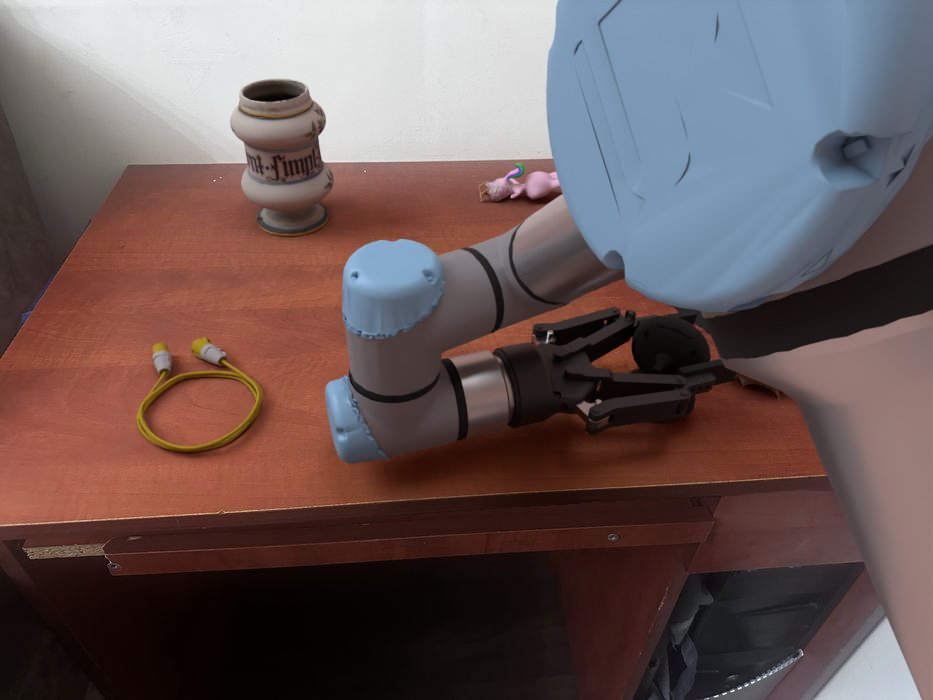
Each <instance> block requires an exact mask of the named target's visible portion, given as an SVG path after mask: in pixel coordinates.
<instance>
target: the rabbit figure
mask: <svg viewBox="0 0 933 700" xmlns="http://www.w3.org/2000/svg"><path fill="white" fill-rule="evenodd" d="M513 166H514V167H516V168H515V169H513V170H510V171H509V172H508V173H507V175H505V176H504V177H500V178H496V179H495V180H494V181H491V182H490V181H486V180H485V181H484V182H482V183H480V182H479V181H478V182H477V183H478V191H479V199H480V202H483V196H484V195H485V194H486V193H487V195H488V196H489V199H490V200H491V201H493V202H499V201H502V200H503V199H505V198H507V197H508V196H510V199H511V200H513V199H515V198H517V197H518V196H520V195H521V194H522V192H524V193H525V196H527V197H528V198H530V200H537V199H540V198H542V197H543V198H544V197H547V196H548V194H549V193H550V192H551V191H553V190H556V189H559V188H561V187H560V184H559V181H558V177H557V173H556V171H552V172H550V173H547V172H545V171H534V172H531V173H529V174H528V175H527V176H526V178H525V181H524V183H520V182H519V181H517V180H516V179H518V178H520V177H522V176H523V175H524V174H525V170H526V168H525V165H524V164H523V163H522V162H516V163H514V164H513ZM484 186H485V187H486V189H485V190H484V191H482V187H484Z"/></svg>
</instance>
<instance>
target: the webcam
mask: <svg viewBox="0 0 933 700" xmlns="http://www.w3.org/2000/svg"><path fill="white" fill-rule="evenodd" d="M630 349H631V354H632V358H633V361H634V362H635V363H634V364H635V365H636V366H637V367H638V368H636V369H633V370H632V371H630V372H629V373H637V374H662V375H677V372H678V369H679V368H681V367H685V366H690V365H695V364H699V363H704V362H708V361H711V359H712V356H711V347H710V344H709V342H708V339H707V338H706V336H705V335H704V334H703V333H702V331H701V330H700V329H698V327H696V326H695V324H694V325H692V324H691V323H689V322H688V321H685V320H682V319H680V318H677V317H674V316H663V315H659V316H656V317H653V318H651V319H648V320H646V321H645V322H644V323H643V324H641V325H640V326H639V327H638V328H637V329H636V331H635V333H634V336H633V337H632V338H631V347H630ZM669 390H670V389H669ZM696 400H697V397H696V395H693V396H691V397H690V400H689V403H688V406H687V409H686V412H685V415H684V416H683V417H681V418H674V419H667V420H660V421H659V422H675V421H678V420H682V419H684V418H685V417H687V416H689V415H690V413H691V412H692V411H693V409H694V408H695V405H696V402H697V401H696Z"/></svg>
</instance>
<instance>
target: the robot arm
mask: <svg viewBox="0 0 933 700" xmlns="http://www.w3.org/2000/svg"><path fill="white" fill-rule="evenodd" d="M554 27H555V28H554V35H553V39H552V43H551V46H550V48H549V50H548V55H547V64H546V84H545V85H546V87H545V88H546V89H545V108H546V123H547V131H548V139H549V146H550V151H551V157H552V160H553V166H554V170H555V172H556V173H557V177H558V181H559V184H560V187H559V188H560V190H561V193H562V194H560V195H558V196H557V197H556V198H554V199H552V200H551V201H550V202H548V203H547V204H545V205H544V206H543V207H541V208H540V209H538V210H536V211H535V212H534V213H532V214H531V215H530V216H528V217H526V219H524V220H523V221H521V222H520V223H519V224H517V225H515V226H514V227H513V228H511V229H509V230H508V231H506V232H504V233H502V234H500V235H498V236H495V237H492V238H490V239H487V240H483V241H482V242H481V241H480V242H478V243H476V244H472V245H470V246H466V247H462V248H458V249H455V250H452V251H449V252H445V253H442V254H439V255H437V253H436V252H435V251H434V250H433V249H432V248H430V247H428V246H427V245H425V244H424V243H421V242H418V241H415V240H412V239H407V238H399V239H397V240H395V241H390V240H387V239H379V240H375V241H372V242H370V243H367V244H365V245H363V246H361V247H359V248H358V249H357V250H355V251H354V252H353V253H352V254H350V256H349V258H348V259H347V261H346V263H345V265H344V267H343V271H342V306H341V311H342V321H343V324H344V331H345V337H346V347H347V354H348V363H349V369H348V374H347V375H343V376H342V377H340V378H336V379H333V380H331V381H329V382H328V383H327V384H326V386H325V389H324V399H325V400H324V401H325V407H326V414H327V419H328V423H329V429H330V433H331V438H332V441H333V446H334V447H335V448H334V449H335V452H336V454H337V456H338V458H339V459H340V460H341V461H342V462H344V463H346V464H350V465H351V464H353V465H355V464H360V463H361V464H362V463H366V462H374V461H380V460H385V461H386V460H391V459H393V458H394V457H397V456H401V455H402V456H403V455H406V454H410V453H415V452H418V451H422V450H427V449H432V448H436V447H440V446H443V445H444V446H445V445H448V444H452V443H456V442H461V441H463V440H464V441H465V440H470V439H474V438H478V437H483V436H487V435H492V434H495V433H501V432H503V431H505V430H506V428H507V427H509V428H510V429H518V428H523V427H527V426H532V425H537V424H541V423H544V422H545V421H547V420H549V419H550V418H551V417H553V416H555V415H557V414H565V415H566V414H567V415H577V416H578V417H579V418H580V419H581V420H582V421H583V422H584V423H585V428H584V430H585V432H586V434H588V435H589V436H596V435H598V434H600V433H603V432H604V431H607V430H609V429H611V428H617V427H623V426H631V425H638V424H646V423H652V422H661V421H660V420H667V419H674V418H681V417H683V416H684V415H685V412H686V409H687V406H688V403H689V400H690V397H691V396H693V395H695V396H696V395H701V394H705V393H709V392H711V391H712V390H713V388H714V386H719V385H724V384H728V383H732V382H735V380H736V378H737V372H738V373H740V374H742V375H745V376H747V377H750V378H752V379H754V380H757V381H759V382H762V383H764V384H766V385H769V386H771V387H774V388H776V389H778V390H780V391H779V392H782V393H783V394H784V395H785V396H787V397H788V398H790V399H791V400H792V401H794V402H795V403H796V406H797V409H798V411H799V413H800V416H801V418H802V420H803V423H804V425H805V428H806V430H807V432H808V435H809V437H810V439H811V441H812V444H813V446H814V449H815V451H816V454H817V455H818V458H819V460H820V463H821V465H822V467H823V471H824V473H825V475H826V477H827V479H828V481H829V484H830V486H831V489H832V492H833V493H834V496H835V499H836V500H837V502H838V506H839V507H840V510H841V513H842V515H843V518H844V519H845V522H846V524H847V527H848V529H849V531H850V534H851V535H852V539H853V541H854V543H855V546H856V548H857V550H858V552H859V555H860V557H861V560H862V562H863V564H864V567H865V569H866V571H867V573H868V574H867V575H868V576H869V578H870V581H871V583H872V585H873V588H874V590H875V592H876V595H877V598H878V600H879V602H880V605H881V607H882V609H883V611H884V614H885V617H886V619H887V621H888V624H889V626H890V628H891V631H892V633H893V635H894V637H895V640H896V642H897V645H898V647H899V649H900V653H901V654H902V657H903V659H904V661H905V663H906V666H907V669H908V670H909V671H908V672H909V673H910V676H911V678H912V680H913V683H914V685H915V687H916V690H917V692H918V694H919V697H920V699H921V700H933V0H557V2H556V7H555V26H554ZM623 279H625V283H626V285H627V286H628V287H629V288H631V289H633V290H634V291H636V292H638V293H639V294H641V295H642V296H643V297H645V298H647V299H649V300H652V301H654V302H658V303H661V304H664V305H667V306H671V307H673V306H675V307H679V308H686V309H693V310H689V311H684V312H680V311H679V312H675V313H669V314H664V315H662V316H674V317H677V318H680V319H682V320H685V321H688V322H689V323H691V324H692V325H694V326H695V324H696V323H695V320H696V317H697V313H696V312H695V311H694V310H698V311H701V313H702V316H703V318H704V320H705V323H706V325H707V327H708V330H709V332H710V334H709V335H710V337H711V340H712V342H713V344H714V347H715V349H716V351H717V354H718V355H719V358H718V359H713V360H710V361H708V362H704V363H699V364H695V365H690V366H685V367H681V368H679V369H678V372H677V375H662V374H637V373H630V372H613V371H612V370H611V369H610V368H607V367H596V365H593V364H592V363H593V362H595V361H597V360H598V359H600V358H602V357H603V356H605V355H607V354H609V353H610V352H612V351H614V350H616V349H618V348H620V347H621V346H623V345H625V344H626V343H628V342H630V341H631V340H632V338H633V336H634V333H635V331H636V329H637V328H638V327H639V326H640V325H641V324H643V323H644V322H645V321H646V320H648V319H651V318H653V317H656V316H660V314H650V315H645V316H640V317H637V312H636V311H634V310H632V309H627V310H625V313H624V315H623V314H621V312H622V309H620V308H619V307H616V306H612V307H607V308H604V309H601V310H597V311H593V312H589V313H586V314H582V315H578V316H574V317H570V318H567V319H563V320H560V321H557V322H539V323H535V324H533V325H532V331H531V333H532V334H531V340H530V342H521V343H516V344H511V345H507V346H506V345H505V346H501V347H497V348H495V349H494V350H493V351H492V352H491V351H490V350H488V349H483V350H478V351H475V352H469V353H464V354H463V353H462V354H458V355H455V356H449V357H445V358H442V354H443V353H445V352H447V351H451V350H453V349H456V348H458V347H460V346H463V345H465V344H469V343H470V342H473V341H475V340H478V339H481V338H484V337H486V336H489V335H491V334H494V333H496V332H497V331H500V330H503V329H505V328H508V327H510V326H513V325H516V324H518V323H519V324H520V323H521V322H524V321H527V320H530V319H533V318H534V317H538V316H539V315H542V314H546V313H548V312H552V311H556V310H557V309H561V308H563V307H566V306H568V305H569V304H571V303H572V302H574V301H575V300H577V299H579V298H582V297H583V296H585V295H587V294H590V293H592V292H594V291H597V290H599V289H602V288H604V287H606V286H609V285H611V284H613V283H616V282H618V281H621V280H623ZM675 307H674V308H675ZM669 389H670V390H669ZM681 419H682V418H681Z"/></svg>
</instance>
